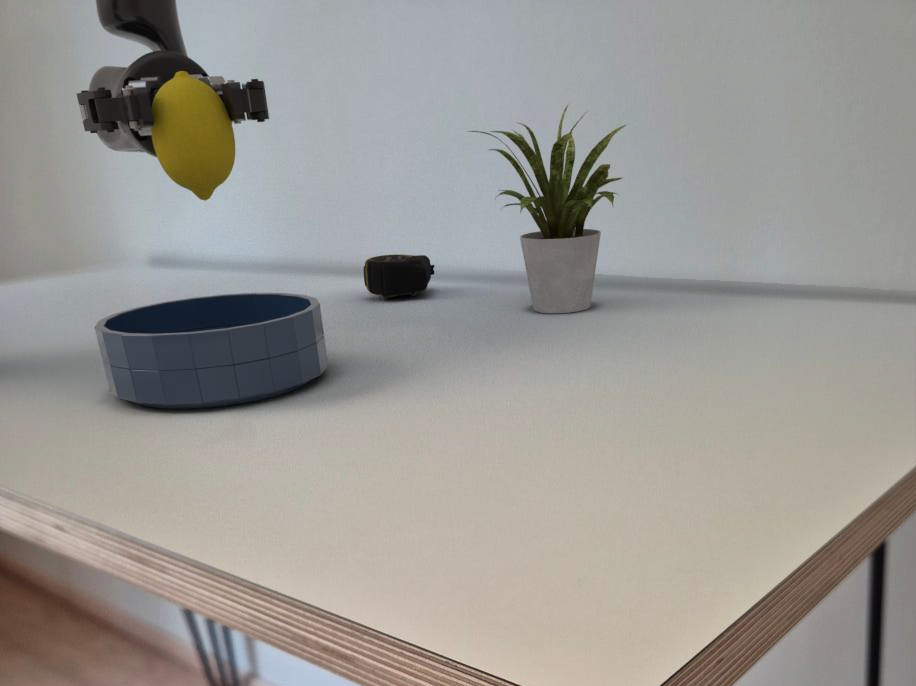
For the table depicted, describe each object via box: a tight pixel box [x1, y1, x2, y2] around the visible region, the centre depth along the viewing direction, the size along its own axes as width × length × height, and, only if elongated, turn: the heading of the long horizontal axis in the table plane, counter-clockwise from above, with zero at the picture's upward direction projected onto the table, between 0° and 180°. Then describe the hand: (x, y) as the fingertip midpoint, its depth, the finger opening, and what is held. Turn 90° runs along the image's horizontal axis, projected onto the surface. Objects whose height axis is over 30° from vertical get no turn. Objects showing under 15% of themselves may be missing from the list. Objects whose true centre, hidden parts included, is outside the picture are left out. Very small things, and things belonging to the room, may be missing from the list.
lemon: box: [151, 71, 236, 201], centre depth 67 cm, size 6×6×8 cm
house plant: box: [468, 101, 629, 314], centre depth 83 cm, size 14×14×16 cm
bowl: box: [94, 292, 329, 410], centre depth 68 cm, size 15×15×5 cm
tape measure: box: [363, 254, 435, 300], centre depth 98 cm, size 7×7×4 cm
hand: (192, 103), depth 64 cm, fingers closed on lemon, 5 cm apart
